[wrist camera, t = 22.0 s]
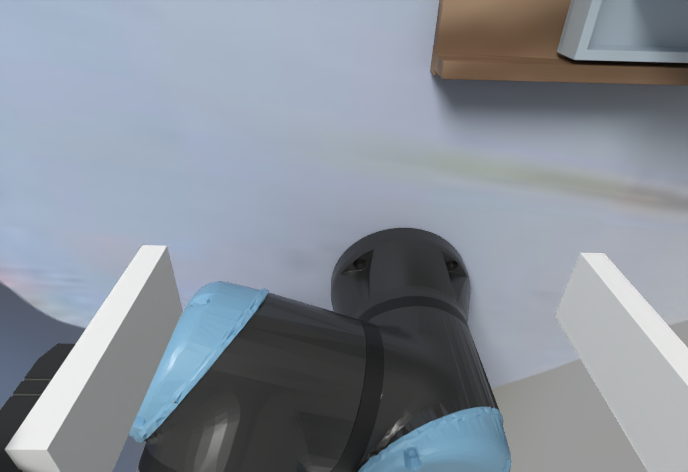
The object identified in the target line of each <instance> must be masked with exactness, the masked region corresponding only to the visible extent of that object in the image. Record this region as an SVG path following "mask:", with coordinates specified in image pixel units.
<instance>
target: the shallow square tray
mask: <svg viewBox="0 0 688 472" xmlns="http://www.w3.org/2000/svg"><path fill="white" fill-rule="evenodd" d="M557 52H558V53H560V54H562V55H565V56H567V57H569V58H571V59H573V60H600V61H636V62H673V63H688V0H571V2H570V6H569V10H568V13H567V17H566V20H565V24H564V28H563V31H562V35H561V38H560V42H559V46H558V49H557Z"/></svg>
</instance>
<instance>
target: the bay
mask: <svg viewBox="0 0 688 472" xmlns="http://www.w3.org/2000/svg"><path fill="white" fill-rule="evenodd" d="M570 2H571V0H440V1H439V8H438V16H437V24H436V31H435V39H434V46H433V54H432V62H431V69H430V71H431V72H432V74H433V75H439V76H440V77H441V79H466V80H504V81H542V82H581V83H619V84H658V85H688V63H673V62H636V61H600V60H573V59H571V58H569V57H567V56H565V55H562V54H560V53H558V52H557V49H558V46H559V42H560V38H561V35H562V31H563V28H564V24H565V20H566V17H567V13H568V10H569V6H570Z"/></svg>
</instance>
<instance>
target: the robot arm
mask: <svg viewBox="0 0 688 472" xmlns="http://www.w3.org/2000/svg"><path fill="white" fill-rule="evenodd" d="M469 299H470V280H469V276H468V273H467V270H466V268H465V265H464V263H463V260H462V258H461V256H460V254H459V253H458V251H457V250H456V249H455V248H454V247H453V246H452V245H451V244H450V243H449V242H447V241H446V240H445V239H443V238H441V237H440V236H438V235H436V234H433V233H431V232H428V231H424V230H420V229H413V228H394V229H387V230H383V231H379V232H376V233H373V234H371V235H368V236H366V237H364V238H362V239H361V240H359V241H357V242H356V243H354V244H353V245H352V246H351V247H349V248H348V249H347V250H346V251H345V252H344V254H343V255H342V256H341V257H340V259H339V260H338V262H337V264H336V266H335V268H334V271H333V274H332V280H331V301H332V306H333V309H334V312H333V311H329V310H326V309H322V308H319V307H316V306H312V305H309V304H305V303H302V302H299V301H295V300H292V299H288V298H285V297H282V296H278V295H275V294H272V293H269V290H267V289H261V290H257V289H253V288H249V287H245V286H241V285H237V284H232V283H228V282H222V281H217V282H212V283H209V284H207V285H205V286H204V287H202V288H201V289H200V290H198V292H197V293H196V294H195V295H194V296H193V298H192V299H191V300H190V302H189V303H188V305H187V307H186V308H185V310H184V312H183V313H182V311H183V310H182V306H181V302H180V297H179V293H178V289H177V285H176V281H175V277H174V272H173V268H172V264H171V260H170V256H169V252H168V247H167V246H150V245H142V247H141V248H140V250H139V251H138V253H137V254H136V256H135V257H134V259H133V260H132V262H131V263H130V264H129V266H128V267H127V269H126V270H125V272H124V273H123V275H122V276H121V278H120V279H119V281H118V282H117V284H116V285H115V287H114V288H113V290H112V291H111V293H110V294H109V296H108V297H107V299H106V300H105V302H104V303H103V304H102V306H101V307H100V309H99V310H98V312H97V313H96V315H95V316H94V318H93V319H92V321H91V322H90V324H89V325H88V327H87V328H86V330H85V331H84V333H83V334H82V336H81V337H80V339H79V340H78V342H77V343H76V344H57V345H56V346H54V347H53V348H52V349H51V350H49V351H48V352H47V353H45V354H44V355H43V356H42V357H40V358H39V359H38V360H37V362H36V363H35V364H34V366H33V367H32V368H31V370H30V371H29V372H28V374H27V375H26V376H25V380H24V381H22V382H21V383H20V384H19V386H18V387H17V389H16V390H15V391H14V393H13V396H12V397H10V398H9V399H8V401H7V402H6V403H5V405H4V406H3V407H2V409H1V410H0V472H112V471H113V469H114V467H115V464H116V462H117V460H118V458H119V455H120V453H121V451H122V448H123V446H124V444H125V441H126V439H127V437H128V435H129V436H131V437H133V438H134V439H135V441H136V442H141V443H143V442H144V441H146V445H145V447H144V450H143V453H142V456H141V459H140V462H139V465H138V468H137V472H510V467H511V455H510V451H509V447H508V443H507V439H506V436H505V432H504V428H503V419H502V415H501V413H500V411H499V409H498V406H497V403H496V401H495V398H494V395H493V393H492V390H491V387H490V384H489V382H488V379H487V376H486V374H485V371H484V368H483V366H482V363H481V360H480V357H479V355H478V352H477V349H476V347H475V344H474V341H473V339H472V336H471V333H470V330H469V327H468V325H467V320H468V309H469ZM181 314H182V315H181ZM180 316H181V317H180ZM555 317H556V319H557V320H558V322H559V324H560V325H561V327H562V329H563V330H564V332H565V334H566V336H567V337H568V339H569V341H570V342H571V344H572V346H573V347H574V349H575V351H576V352H577V354H578V356H579V357H580V359H581V361H582V362H583V364H584V366H585V367H586V369H587V371H588V372H589V374H590V376H591V377H592V379H593V381H594V383H595V384H596V386H597V388H598V389H599V391H600V393H601V394H602V396H603V398H604V399H605V401H606V403H607V404H608V406H609V408H610V409H611V411H612V413H613V414H614V416H615V418H616V420H617V421H618V423H619V424H620V426H621V428H622V430H623V431H624V433H625V434H626V436H627V438H628V440H629V441H630V443H631V445H632V446H633V448H634V450H635V451H636V453H637V455H638V456H639V458H640V460H641V462H642V463H643V465H644V466H645V468H646V470H647V472H688V348H687V347H686V346H685V344H684V343H683V342H682V341H681V340H680V339H679V338H678V337H677V335H676V334H675V333H674V332H673V331H672V330H671V329H670V327H669V326H668V325H667V324H666V323H665V322H664V321H663V320H662V318H661V317H660V316H659V315H658V314H657V313H656V312H655V310H654V309H653V308H652V307H651V306H650V305H649V304H648V303H647V301H646V300H645V299H644V298H643V297H642V296H641V295H640V294H639V292H638V291H637V290H636V289H635V288H634V287H633V286H632V284H631V283H630V282H629V281H628V280H627V279H626V278H625V277H624V275H623V274H622V273H621V272H620V271H619V270H618V269H617V267H616V266H615V265H614V264H613V263H612V262H611V261H610V260H609V258H608V257H607V256H606V255H605V254H604V253H580V255H579V257H578V260H577V262H576V265H575V267H574V270H573V272H572V275H571V277H570V280H569V282H568V285H567V287H566V290H565V292H564V295H563V297H562V300H561V302H560V305H559V307H558V309H557V312H556V314H555Z"/></svg>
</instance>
